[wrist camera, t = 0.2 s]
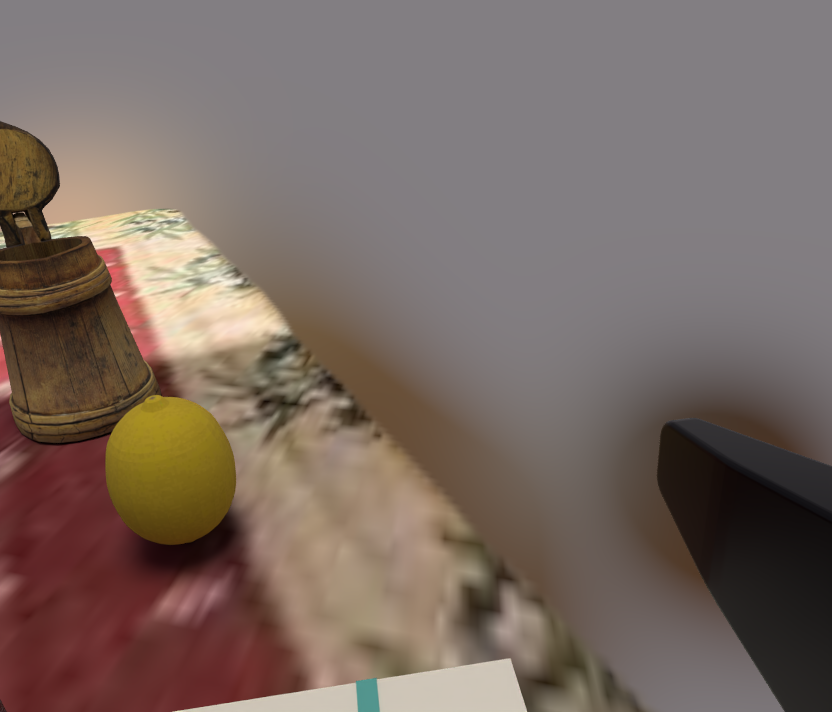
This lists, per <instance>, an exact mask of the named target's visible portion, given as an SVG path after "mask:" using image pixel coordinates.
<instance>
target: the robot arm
mask: <svg viewBox="0 0 832 712" xmlns="http://www.w3.org/2000/svg"><path fill="white" fill-rule="evenodd" d="M657 467H658V468H657V481H658V486H659V490H660V492H661V494H662V497H663V499H664V501H665V503H666V505H667V507H668V509H669V511H670V513H671V515H672V517H673V519H674V521H675V523H676V525H677V527H678V530H679V532H680V534H681V536H682V538H683V540H684V542H685V544H686V546H687V548H688V550H689V552H690V554H691V556H692V558H693V560H694V562H695V565H696V566H697V569H698V571H699V573H700V575H701V577H702V578H703V580H704V582H705V584H706V586H707V588H708V589H709V591H710V593H711V594H712V596H713V598H714V600H715V601H716V603H717V605H718V606H719V608H720V609H721V611H722V613H723V614H724V616H725V617H726V619H727V621H728V622H729V624H730V625H731V627H732V629H733V630H734V632H735V633H736V635H737V637H738V638H739V640H740V641H741V643H742V644H743V646H744V648H745V649H746V651H747V652H748V654H749V656H750V657H751V659H752V661H753V662H754V664H755V665H756V667H757V668H758V670H759V672H760V673H761V675H762V676H763V678H764V680H765V681H766V683H767V684H768V686H769V688H770V689H771V691H772V692H773V694H774V695H775V697H776V699H777V700H778V702H779V703H780V705H781V706H782V708H783V710H784V711H785V712H832V466H830V465H827V464H824V463H821V462H819V461H816V460H813V459H810V458H807V457H805V456H802V455H799V454H796V453H793V452H790V451H788V450H785V449H782V448H779V447H776V446H774V445H771V444H768V443H765V442H762V441H759V440H756V439H754V438H751V437H748V436H745V435H742V434H740V433H737V432H734V431H731V430H729V429H726V428H723V427H720V426H717V425H714V424H712V423H709V422H706V421H703V420H701V419H697V418H687V419H680V420H672V421H668V422H666V423H665V425H663V427H662V430H661V435H660V445H659V456H658V466H657Z"/></svg>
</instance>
